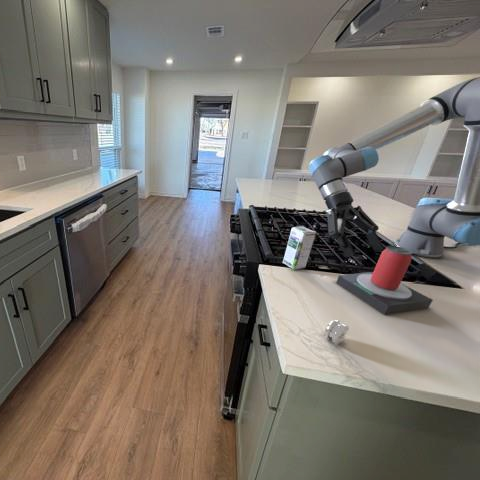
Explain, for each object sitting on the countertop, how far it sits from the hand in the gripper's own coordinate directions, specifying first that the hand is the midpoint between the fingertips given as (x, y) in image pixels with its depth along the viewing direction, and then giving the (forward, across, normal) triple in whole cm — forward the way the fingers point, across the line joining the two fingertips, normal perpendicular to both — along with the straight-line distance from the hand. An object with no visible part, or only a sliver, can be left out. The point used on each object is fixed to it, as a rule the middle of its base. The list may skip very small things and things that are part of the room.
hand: (365, 253), depth 81 cm
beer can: (+10, 0, 0) cm, 11 cm away
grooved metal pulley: (+20, +32, +4) cm, 37 cm away
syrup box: (-3, +11, -18) cm, 22 cm away
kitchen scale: (+13, 0, -2) cm, 13 cm away
